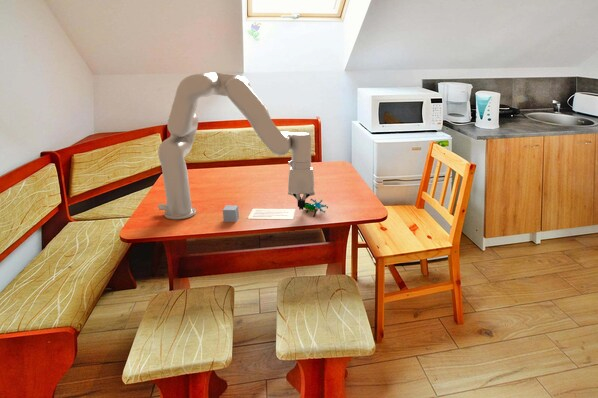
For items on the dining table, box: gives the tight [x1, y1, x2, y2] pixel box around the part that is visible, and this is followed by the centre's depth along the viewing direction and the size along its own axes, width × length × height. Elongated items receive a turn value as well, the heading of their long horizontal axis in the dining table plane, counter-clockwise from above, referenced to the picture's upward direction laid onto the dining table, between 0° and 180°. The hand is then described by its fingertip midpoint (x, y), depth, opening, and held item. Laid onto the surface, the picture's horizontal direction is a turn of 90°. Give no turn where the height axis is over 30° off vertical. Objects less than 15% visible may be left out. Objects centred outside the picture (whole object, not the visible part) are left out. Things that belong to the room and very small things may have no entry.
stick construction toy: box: [303, 198, 329, 218], centre depth 171 cm, size 12×7×8 cm
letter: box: [247, 208, 296, 220], centre depth 172 cm, size 18×11×1 cm, turn 85°
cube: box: [222, 204, 240, 223], centre depth 167 cm, size 5×5×5 cm
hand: (301, 208), depth 171 cm, fingers closed
